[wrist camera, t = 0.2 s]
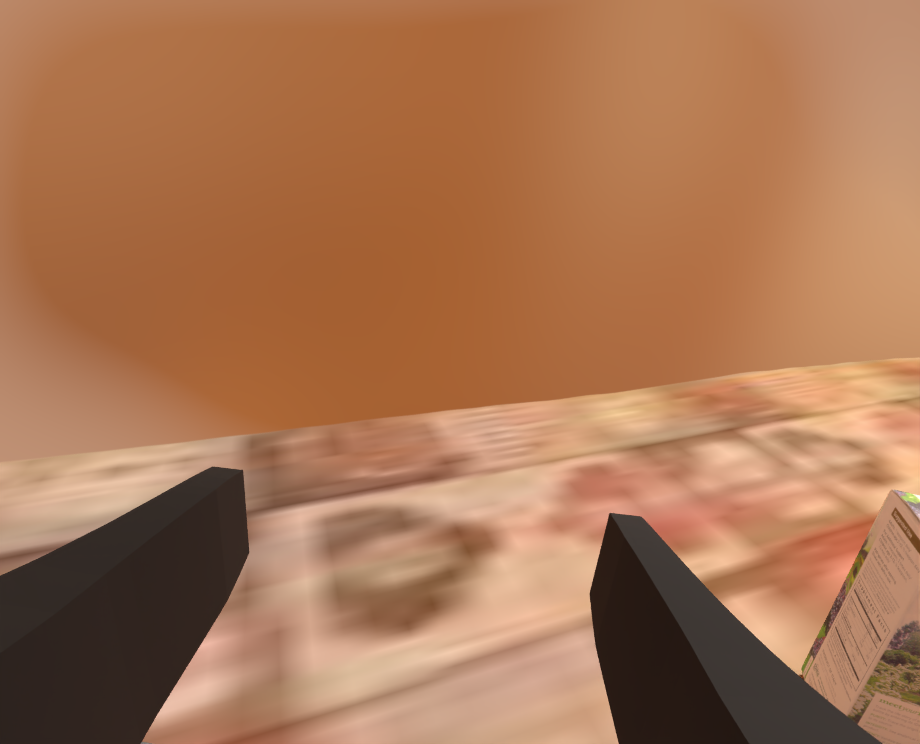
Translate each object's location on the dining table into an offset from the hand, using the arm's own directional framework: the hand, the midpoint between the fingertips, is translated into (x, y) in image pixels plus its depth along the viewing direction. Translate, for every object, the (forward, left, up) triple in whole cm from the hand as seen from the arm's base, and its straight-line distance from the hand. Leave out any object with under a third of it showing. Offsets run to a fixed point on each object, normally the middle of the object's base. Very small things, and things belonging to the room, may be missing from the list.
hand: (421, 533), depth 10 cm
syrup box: (+16, -26, -22) cm, 37 cm away
